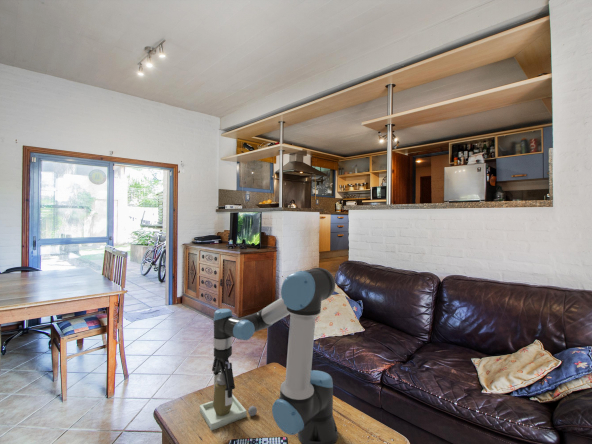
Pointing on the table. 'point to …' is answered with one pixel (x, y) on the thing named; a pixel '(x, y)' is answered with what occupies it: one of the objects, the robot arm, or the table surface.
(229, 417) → the tray
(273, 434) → the table surface
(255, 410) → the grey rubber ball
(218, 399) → the squeeze bottle
